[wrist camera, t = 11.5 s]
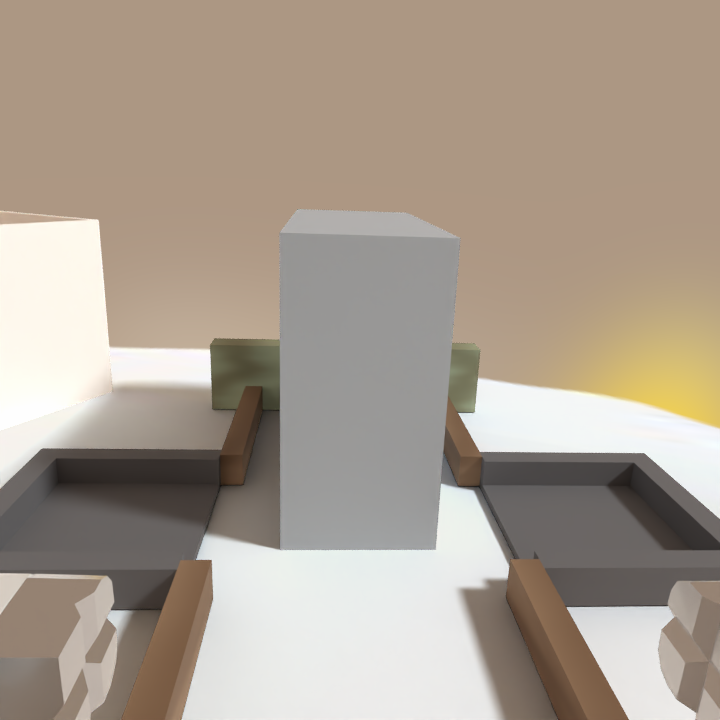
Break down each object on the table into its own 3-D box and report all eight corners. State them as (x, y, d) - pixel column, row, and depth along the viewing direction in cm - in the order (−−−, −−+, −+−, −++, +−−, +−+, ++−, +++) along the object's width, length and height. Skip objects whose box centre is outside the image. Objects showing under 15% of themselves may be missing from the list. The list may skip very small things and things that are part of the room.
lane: (2, 848, 13) (-25, 695, 12) (216, 400, 39) (214, 338, 38) (735, 826, 14) (775, 682, 13) (469, 403, 40) (474, 343, 39)
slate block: (280, 551, 24) (279, 232, 20) (296, 415, 37) (297, 209, 34) (435, 551, 24) (460, 238, 21) (396, 416, 38) (407, 212, 34)
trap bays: (-76, 610, 20) (-83, 570, 19) (45, 478, 28) (42, 448, 28) (764, 604, 22) (774, 567, 21) (639, 481, 30) (644, 453, 30)
